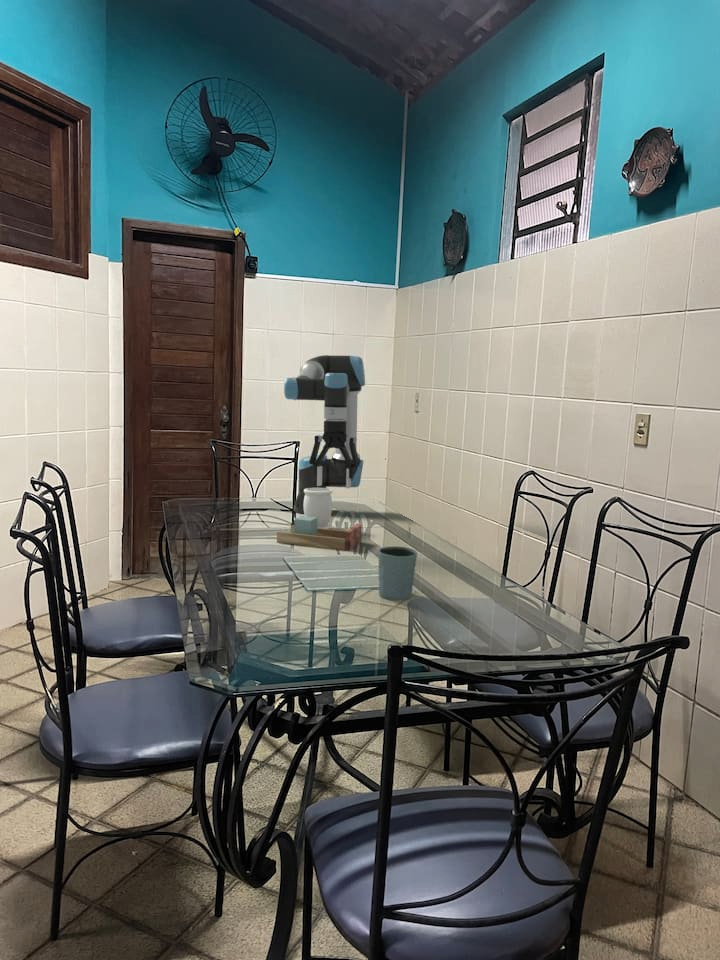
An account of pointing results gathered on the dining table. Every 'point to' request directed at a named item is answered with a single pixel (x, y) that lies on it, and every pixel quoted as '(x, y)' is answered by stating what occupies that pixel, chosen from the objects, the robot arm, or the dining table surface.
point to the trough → (324, 538)
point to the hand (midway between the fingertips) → (333, 486)
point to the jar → (318, 505)
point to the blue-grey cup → (396, 572)
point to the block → (305, 525)
